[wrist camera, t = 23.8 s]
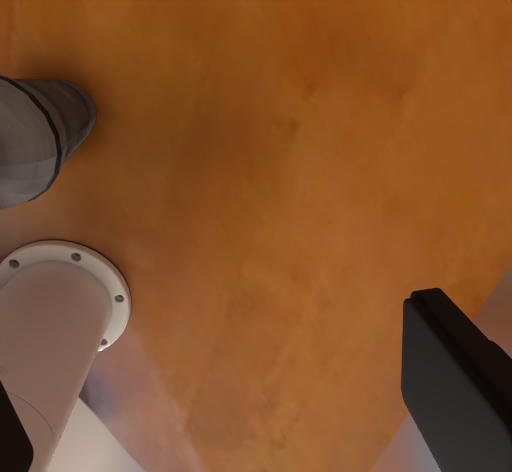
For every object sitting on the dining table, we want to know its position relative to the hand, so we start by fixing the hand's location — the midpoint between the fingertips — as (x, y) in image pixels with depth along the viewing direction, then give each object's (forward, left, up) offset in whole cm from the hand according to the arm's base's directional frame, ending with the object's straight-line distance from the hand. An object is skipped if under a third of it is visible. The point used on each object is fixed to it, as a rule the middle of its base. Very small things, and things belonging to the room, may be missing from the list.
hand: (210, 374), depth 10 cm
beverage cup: (-12, +3, -28) cm, 30 cm away
